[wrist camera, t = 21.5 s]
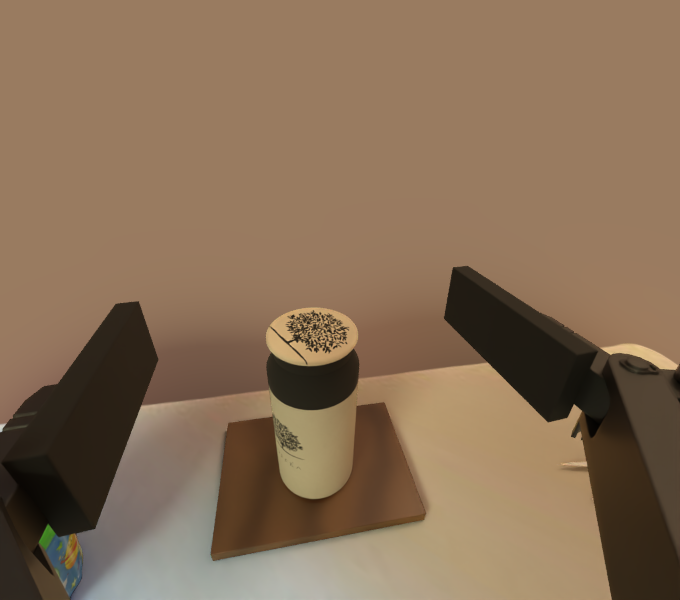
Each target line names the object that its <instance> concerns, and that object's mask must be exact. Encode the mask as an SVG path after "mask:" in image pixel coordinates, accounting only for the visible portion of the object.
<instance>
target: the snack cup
mask: <svg viewBox="0 0 680 600" xmlns="http://www.w3.org/2000/svg"><path fill="white" fill-rule="evenodd" d="M39 543H40V544H41V546H42V547H43V548H44V549H45V551H46V553H47V555H48V557H49V559H50V561H51V563H52V565H53V567H54V569H55V570H56V572H57V574H58V576H59V578H60V580H61V582H62V584H63V586H64V588H65V590H66V592H67V594H68V595H69V597H71V594H72V593H73V591H74V590H75V588H76V587H77V585H78V583H79V582H80V580H81V578H82V564H83V554H82V550H81V547H80V544H79V541H78V539H77V536H76V533H75V534H71V535H66V536H62V537H58V536H57V535H56V533H55V532H54V531H53V530H52V528H51V527H50V526H49V524H48V525H47V527H46V529H45V531H44V533H43V535H42V537H41V539H40V541H39Z"/></svg>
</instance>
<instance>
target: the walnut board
mask: <svg viewBox="0 0 680 600" xmlns="http://www.w3.org/2000/svg"><path fill="white" fill-rule="evenodd" d="M425 515H426V513H425V510H424V507H423V505H422V502H421V499H420V497H419V494H418V491H417V489H416V486H415V483H414V481H413V478H412V475H411V473H410V470H409V467H408V465H407V462H406V459H405V457H404V454H403V451H402V449H401V446H400V443H399V441H398V438H397V435H396V433H395V430H394V427H393V425H392V422H391V419H390V417H389V414H388V411H387V409H386V406H385V403H376V404H368V405H361V406H356V421H355V436H354V451H353V466H352V471H351V474H350V477H349V479H348V481H347V482H346V483H345V485H344V486H343V487H342V488H341V489H340V490H339V491H337V492H336V493H334V494H332V495H330V496H328V497H324V498H320V499H309V498H304V497H301V496H299V495H297V494H295V493H293V492H292V491H291V490H290V489H289V488H288V487H287V486H286V485H285V483H284V482H283V480H282V477H281V474H280V469H279V461H278V454H277V446H276V438H275V430H274V423H273V417H269V418H262V419H254V420H246V421H239V422H231V423H228V428H227V436H226V443H225V451H224V458H223V466H222V473H221V481H220V488H219V496H218V503H217V511H216V518H215V526H214V533H213V541H212V548H211V557H212V559H213V561H215V560H220V559H225V558H230V557H235V556H240V555H246V554H251V553H256V552H261V551H266V550H271V549H276V548H282V547H287V546H292V545H297V544H302V543H307V542H312V541H317V540H323V539H328V538H333V537H338V536H343V535H348V534H353V533H358V532H364V531H369V530H374V529H379V528H384V527H389V526H394V525H400V524H405V523H410V522H415V521H420V520H424V518H425Z"/></svg>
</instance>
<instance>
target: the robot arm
mask: <svg viewBox="0 0 680 600" xmlns="http://www.w3.org/2000/svg"><path fill="white" fill-rule="evenodd" d="M444 319H445V320H446V321H447V322H448V323H449V324H450V325H451V326H452V327H453V328H454V329H455V330H456V331H457V332H458V333H459V334H460V335H461V336H462V337H463V338H464V339H465V340H466V341H467V342H468V343H469V344H470V345H471V346H472V347H473V348H474V349H475V350H476V351H477V352H478V353H479V354H480V355H481V356H482V357H483V358H484V359H485V360H486V361H487V362H488V363H489V364H490V365H491V366H492V367H493V368H494V369H495V370H496V371H497V372H498V373H499V374H500V375H501V376H502V377H503V378H504V379H505V380H506V381H507V382H508V383H509V384H510V385H511V386H512V387H513V388H514V389H515V390H516V391H517V392H518V393H519V394H520V395H521V396H522V397H523V398H524V399H525V400H526V401H527V402H528V403H529V404H530V405H531V406H532V407H533V408H534V409H535V410H536V411H537V412H538V413H539V414H540V415H541V416H542V417H543V418H544V419H545V420H546V421H547V422H552V421H556V420H560V419H564V418H567V417H568V415H569V413H570V411H571V409H572V407H573V405H574V404H575V405H576V406H577V407H578V408H580V409H581V410H582V413H581V415H580V417H579V419H578V421H577V423H576V425H575V427H574V429H573V431H572V435H571V437H573V438H575V437H576V435H577V433H578V432H580V431H581V434H582V438H581V440H583V445H584V450H585V456H586V461H587V466H588V472H589V477H590V483H591V488H592V494H593V499H594V505H595V510H596V515H597V521H598V526H599V532H600V537H601V543H602V548H603V554H604V559H605V564H606V570H607V575H608V581H609V586H610V592H611V597H612V600H680V364H679V366H678V367H677V369H676V370H665V369H659V368H658V367H657V366H655V365H654V364H652V363H651V362H649V361H646V360H644V359H642V358H640V357H636V356H633V355H630V354H622V353H617V354H612V355H610V354H608V353H607V352H605V351H603V350H602V349H600V348H599V347H597V346H596V345H594V344H592V343H591V342H589V341H588V340H586V339H585V338H583V337H581V336H580V335H578V334H577V333H574V331H572V330H570V329H569V328H568V327H564V325H563V324H561V323H559V322H558V321H557V320H555V319H553V318H552V317H549V316H547V315H544V314H542V313H539V312H538V311H536V310H535V309H533V308H532V307H530V306H528V305H527V304H525V303H524V302H522V301H521V300H519V299H518V298H516V297H515V296H513V295H512V294H510V293H509V292H507V291H505V290H504V289H502V288H501V287H499V286H498V285H496V284H495V283H493V282H492V281H490V280H489V279H487V278H485V277H484V276H482V275H481V274H479V273H478V272H476V271H475V270H473V269H472V268H470V267H468V266H463V267H453V270H452V275H451V282H450V287H449V293H448V298H447V304H446V310H445V316H444ZM157 362H158V357H157V354H156V351H155V348H154V345H153V342H152V339H151V337H150V334H149V330H148V327H147V325H146V322H145V319H144V316H143V313H142V310H141V307H140V304H139V302H128V303H120V304H115V306H114V307H113V309H112V310H111V311H110V313H109V314H108V315H107V317H106V318H105V320H104V321H103V322H102V324H101V325H100V327H99V328H98V330H97V331H96V332H95V333H94V335H93V336H92V337H91V339H90V340H89V342H88V343H87V344H86V346H85V347H84V349H83V350H82V351H81V353H80V354H79V355H78V357H77V358H76V360H75V361H74V362H73V364H72V365H71V367H70V368H69V369H68V371H67V372H66V373H65V375H64V376H63V378H62V379H61V380H60V382H59V383H58V384H56V385H50V386H44V387H42V388H41V389H40V390H38V391H37V392H36V393H34V394H33V395H32V396H31V397H29V398H28V399H27V400H25V401H24V403H23V404H22V405H21V406H20V408H19V409H18V410H17V412H16V413H15V414H14V415H13V419H10V420H9V421H8V423H7V424H6V425H5V426H4V428H3V431H2V432H0V600H71V599H70V597H69V595H68V594H67V592H66V590H65V588H64V586H63V584H62V582H61V580H60V578H59V576H58V574H57V572H56V570H55V569H54V567H53V565H52V563H51V561H50V559H49V557H48V555H47V553H46V551H45V549H44V548H43V547H42V546H41V544H40V543H39V541H40V539H41V537H42V535H43V533H44V531H45V529H46V527H47V525H48V524H49V526H50V527H51V528H52V530H53V531H54V532H55V533H56V535H57V536H58V537H62V536H66V535H71V534H75V533H79V532H83V531H88V530H92V529H95V527H96V525H97V522H98V519H99V517H100V514H101V511H102V509H103V506H104V503H105V501H106V498H107V495H108V493H109V490H110V487H111V485H112V482H113V479H114V477H115V474H116V471H117V469H118V466H119V463H120V461H121V458H122V455H123V453H124V450H125V447H126V445H127V442H128V439H129V437H130V434H131V431H132V429H133V426H134V423H135V420H136V418H137V415H138V412H139V410H140V407H141V404H142V402H143V399H144V396H145V394H146V391H147V388H148V386H149V383H150V380H151V378H152V375H153V372H154V370H155V367H156V364H157Z"/></svg>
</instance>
